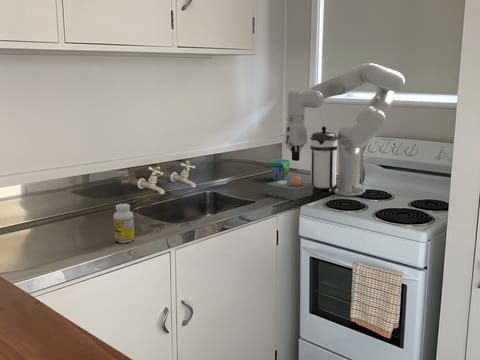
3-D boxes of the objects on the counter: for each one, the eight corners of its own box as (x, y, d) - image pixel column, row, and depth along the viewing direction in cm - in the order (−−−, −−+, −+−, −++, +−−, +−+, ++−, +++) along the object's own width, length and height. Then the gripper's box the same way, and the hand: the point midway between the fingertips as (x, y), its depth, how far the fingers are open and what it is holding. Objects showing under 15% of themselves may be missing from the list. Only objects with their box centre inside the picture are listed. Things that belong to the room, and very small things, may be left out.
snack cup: (266, 177, 287) (265, 158, 285) (285, 176, 290) (285, 157, 287) (274, 183, 272) (274, 163, 270) (294, 182, 275) (294, 162, 272)
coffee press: (346, 190, 256) (348, 126, 250) (317, 193, 250) (318, 128, 244) (327, 183, 272) (328, 123, 265) (299, 186, 266) (299, 125, 260)
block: (312, 195, 247) (312, 184, 246) (293, 200, 239) (293, 189, 238) (284, 189, 259) (284, 179, 258) (265, 194, 251) (265, 183, 250)
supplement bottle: (111, 240, 188) (109, 204, 185) (129, 237, 192) (127, 201, 189) (120, 245, 182) (117, 208, 180) (138, 241, 186) (135, 205, 184)
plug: (288, 192, 252) (288, 181, 251) (282, 193, 249) (282, 183, 248) (281, 190, 255) (281, 180, 254) (275, 192, 252) (275, 181, 251)
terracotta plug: (302, 187, 245) (303, 176, 244) (296, 189, 242) (296, 178, 241) (295, 186, 248) (295, 175, 247) (289, 187, 245) (289, 176, 244)
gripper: (291, 121, 231) (290, 163, 235) (313, 118, 241) (312, 159, 245) (278, 120, 236) (278, 161, 240) (300, 117, 246) (300, 157, 250)
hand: (295, 160), depth 243 cm, fingers closed
